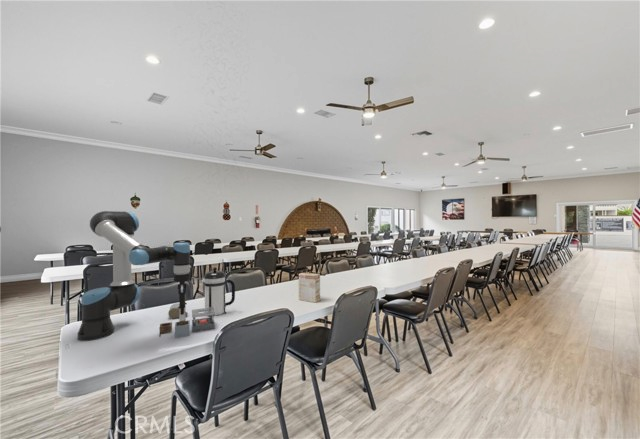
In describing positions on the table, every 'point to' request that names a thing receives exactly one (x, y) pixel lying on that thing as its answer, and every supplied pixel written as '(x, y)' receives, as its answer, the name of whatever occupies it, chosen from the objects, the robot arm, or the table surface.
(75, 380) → the table surface
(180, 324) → the dowel
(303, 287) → the coffeecake box
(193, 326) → the button base
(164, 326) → the dowel holder
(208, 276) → the coffee press
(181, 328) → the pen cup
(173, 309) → the ceramic mug
